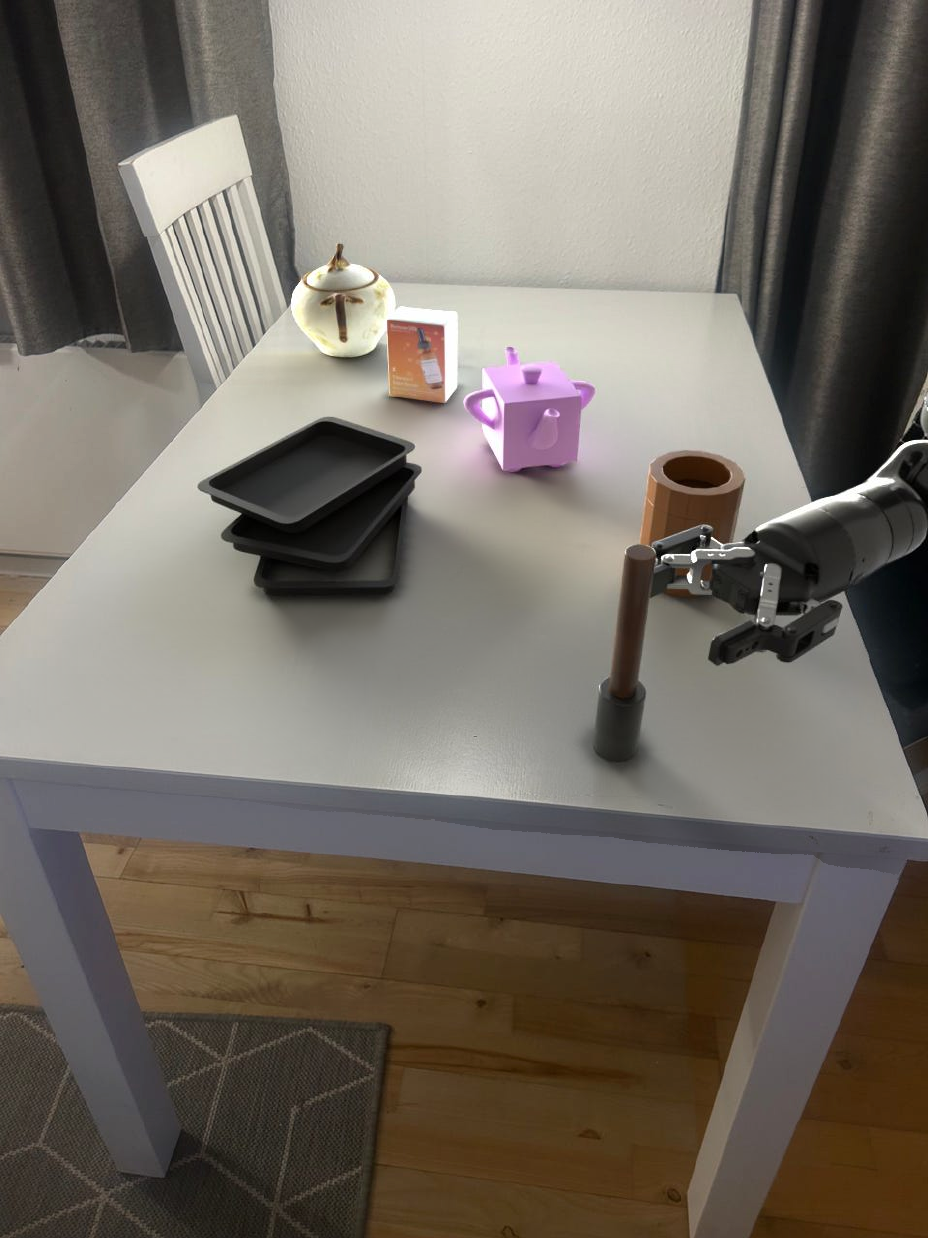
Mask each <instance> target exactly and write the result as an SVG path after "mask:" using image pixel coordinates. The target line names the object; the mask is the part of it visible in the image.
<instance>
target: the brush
mask: <svg viewBox="0 0 928 1238" xmlns="http://www.w3.org/2000/svg"><path fill="white" fill-rule="evenodd" d="M655 559H656V552H655V550H654V549H653V548H651V547H650V546H647V545H643V544H639V543H637V544H636V543H635V544H631V545H629V546H627V547H626V548H625V550H624V557H623V565H622V575H621V580H620V581H621V583H620V591H619V600H618V607H617V614H616V615H617V616H616V624H615V633H614V641H613V648H612V649H613V650H612V658H611V665H610V666H611V667H610V674H609V676H608V677H606V678H604V679H603V680H601V682H600V683H599V686H598V695H597V703H596V704H597V705H596V711H595V721H594V732H593V740H592V748H593V751H594V752H595V753H596V755H597V756H598V757H600V758H601V759H603V760H605V761H607V762H611V763H626V762H628V761H630V760H632V759H633V758H634V757H635V756H636V755H637V753H638V748H639V744H640V736H641V729H642V723H643V716H644V710H645V703H646V697H647V690H646V687H645V685H644V684H643V683H642V682H641V681H640V680H639V676H640V669H641V663H642V655H643V648H644V643H645V635H646V629H647V621H648V614H649V608H650V602H651V601H650V600H651V598H650V594H651V587H652V580H653V573H654V566H655Z"/></svg>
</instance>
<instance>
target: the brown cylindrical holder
mask: <svg viewBox="0 0 928 1238" xmlns="http://www.w3.org/2000/svg"><path fill="white" fill-rule="evenodd" d="M647 473H648V474H647V482H646V488H645V498H644V504H643V512H642V519H641V527H640V535H639V542H638V544H643V545H647V546H650V547H652V543H653V542H656V541H658V540H661V539H664V538H667V537H669V536H672V535H675V534H678V533H680V532H683V531H686V530H689V529H691V528H694V527H697V526H700V525H709V526H711V527H712V528H713V532H712V538H713V539H715V540H716V541H718V542H719V543H721V544H722V545H723V544H727V543H734V539H735V533H736V528H737V523H738V519H739V513H740V508H741V502H742V498H743V494H744V487H745V483H746V475H745V471H744V469H743V468H742V467H741V466H740V465H739V464H738V463H737V462H736V461H734V460H732V459H729V458H727V457H726V456H723V455H720V454H717V453H713V452H709V451H704V450H689V449H683V450H675V451H669V452H666V453H664V454H662V455H659V456H657V457H655V458H654V459H653V460H652V461H651V462H650V464H649V465H648V472H647ZM670 552H671V551H670ZM670 552H668V553H669V554H670ZM712 567H713V564H708V565H706V566H705V567H704V568H703V573H702V578H701V580H702V581H710V576H711V571H712ZM689 571H690V568H676V573H675V575H684V576H685V575H688V574H689ZM663 593H664V594H667V595H672V596H675V597H676V596H677V597H700V596H701V595H694V594H691V593H690V591H689V590H688V589H667V591H665V592H663ZM663 593H662V594H663Z"/></svg>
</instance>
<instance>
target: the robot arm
mask: <svg viewBox="0 0 928 1238" xmlns="http://www.w3.org/2000/svg"><path fill="white" fill-rule="evenodd" d="M919 425H920V428H921V430H922V432H923V434H924V436H926V438H927V439H915V440H910V441H907V442H904V443H903V444H902V445H899V447H897V448H896V449H895V450H894V451H893V452H892V453H891V454H890V455H889V456H888V458H887V459H886V460H885V461H884V462H883V463H882V464H881V465H880V466H879V467H878V468H877V469H876V470H875V471H874V472H873V473H872V474H871V475H869V477H867V479H865V480H864V481H863V482H861V483H860V484H858V485H855V486H853V487H850V488H848V489H846V490H844V491H841V492H840V493H837V494H835V495H831V496H827V497H824V498H823V497H822V498H819V499H816V500H814V501H812V502H810V503H807V504H805V505H802V506H800V507H798V508H795V509H794V510H791V511H789V512H787V513H784V514H782V515H780V516H777V517H775V518H773V519H770V520H769V521H766V522H764V523H762V524H760V525H759V526H756V527H755V528H754V529H753V530H752V531H751V532H750V533H749V534H748V535H747V536H746V537H744V539H742V540H741V541H738V542H733V543H727V544H723V545H722V544H721V543H719V542H718V541H716V540H715V539H713V538H712V532H713V528H712V527H711V526H709V525H700V526H697V527H694V528H691V529H689V530H686V531H683V532H680V533H678V534H675V535H672V536H669V537H667V538H664V539H661V540H658V541H656V542H653V543H652V547H651V548H653V549H654V550H655V552H656V559H655V566H654V573H653V580H652V587H651V594H650V599H652V598H654V597H657V596H658V595H661V594H663V592H665V591H667V589H688V590H689V591H690V593H691V594H694V595H700V596H713V597H715V598H716V599H718V600H720V601H722V602H725V603H727V604H729V605H730V607H731V608H733V610H735V611H736V612H737V613H739V614H741V615H745V614H747V615H750V616H753V620H751V619H747V620H746V621H743V622H740V623H739V624H736V625H734V627H731V628H730V629H727V630H725V631H724V632H721V633H719V634H717V635H716V636H714V637H713V639H712V640H711V642H710V645H709V651H708V656H707V660H708V661H709V662H710V663H712V664H713V665H714V666H716V667H719V666H722V664H726V665H731V664H735V663H737V662H740V661H741V660H743V659H745V658H746V657H748V656H750V655H752V654H754V653H766V652H768V651H769V652H772V653H773V654H776V655H775V656H776V659H777V660H778V661H780V662H782V663H784V664H785V663H786V664H789V663H793V662H794V661H796V660H797V659H799V658H800V657H801V656H803V655H805V654H807V653H808V652H810V651H811V650H813V649H814V648H815V647H817V646H818V645H820V644H821V643H823V642H825V641H827V640H828V639H830V638H831V637H833V636H834V635H835V632H836V629H837V626H838V624H839V623H838V622H839V620H840V617H841V613H842V610H843V604H842V603H841V602H840V601H838V600H835V599H833V598H834V597H837V595H839V594H842V593H843V592H845V591H847V590H849V589H851V588H853V587H855V586H857V585H858V584H860V583H861V582H863V581H865V580H866V579H867V578H869V577H870V576H871V575H873V574H874V573H875V572H877V571H878V570H881V569H882V568H885V567H887V566H888V565H890V564H892V563H894V562H896V561H898V560H900V559H902V558H904V557H906V556H907V555H909V554H910V553H913V551H915V550H916V549H917V548H918V547H919V546H921V544H922V543H923V542H924V540H925V539H926V536H927V534H928V388H927V390H926V392H925V396H924V399H923V402H922V406H921V410H920V415H919ZM670 551H671V552H670ZM668 552H670V554H669V553H668ZM708 564H713V567H712V571H711V576H710V581H702V580H701V578H702V573H703V568H704V567H705V566H706V565H708ZM676 568H690V571H689V574H688V575H685V576H684V575H675V573H676ZM800 615H801V616H800ZM776 616H783V617H785V616H786V617H788V616H789V617H795V616H800V617H798V618H796V619H795V620H793V621H791V622H790V623H788V624H786V625H785V626H783V627H782V626H780V625H777V624H775V623H776Z"/></svg>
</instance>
